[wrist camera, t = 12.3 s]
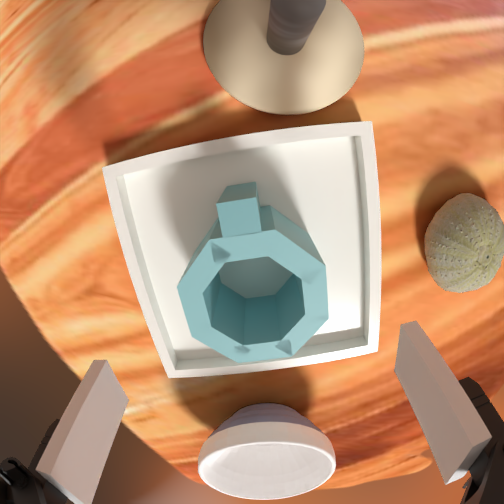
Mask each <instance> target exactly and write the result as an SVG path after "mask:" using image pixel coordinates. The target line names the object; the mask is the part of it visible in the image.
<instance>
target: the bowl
mask: <svg viewBox="0 0 504 504" xmlns="http://www.w3.org/2000/svg"><path fill="white" fill-rule="evenodd" d="M335 467H336V461H335V453H334V450H333V447H332V444H331V442H330V440H329V439H328V437H326V436H325V435H324V433H323V432H322V431H321V430H320V429H319V428H317V427H316V426H315V425H314V424H313V423H312V422H311V421H310V420H308V419H307V418H305V417H304V416H302V415H300V414H299V413H298V412H297V411H295V410H294V409H292V408H290V407H288V406H285V405H281V404H276V403H260V404H254V405H250V406H247V407H244V408H242V409H240V410H238V411H237V412H236V413H234V414H233V415H232V417H230V418H229V419H227V420H226V421H224V422H223V423H222V424H221V425H220V426H219V427H218V428H217V429H216V430H215V431H214V432H213V433H212V434H211V435H210V436H209V437H208V439H207V440H206V441H205V442H204V443H203V445H202V448H201V450H200V454H199V457H198V473H199V475H200V477H201V478H202V480H203V481H204V482H205V483H206V484H208V485H209V486H211V487H212V488H214V489H216V490H218V491H220V492H222V493H225V494H228V495H231V496H235V497H240V498H247V499H261V500H267V499H280V498H287V497H291V496H296V495H299V494H302V493H305V492H308V491H310V490H313V489H315V488H317V487H318V486H320V485H322V484H323V483H324V482H326V481H327V480H328V479H329V478H330V477H331V475H332V474H333V473H334V470H335Z"/></svg>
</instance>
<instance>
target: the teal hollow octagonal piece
mask: <svg viewBox="0 0 504 504" xmlns="http://www.w3.org/2000/svg"><path fill="white" fill-rule="evenodd" d="M216 206H217V211H218V218H217V220H216V221H215V223H214V224H213V226H212V227H211V228H210V230H209V231H208V233H207V234H206V236H205V237H204V238H203V240H202V241H201V243H200V244H199V246H198V247H197V249H196V250H195V252H194V254H193V256H192V258H191V260H190V262H189V263H188V265H187V267H186V269H185V271H184V273H183V275H182V277H181V279H180V281H179V283H178V285H177V290H178V293H179V297H180V300H181V304H182V307H183V310H184V314H185V317H186V320H187V324H188V327H189V330H190V333H191V336H192V337H193V338H195V339H196V340H198V341H200V342H201V343H203V344H205V345H207V346H208V347H210V348H212V349H214V350H215V351H217V352H219V353H221V354H223V355H224V356H226V357H228V358H230V359H232V360H233V361H235V362H237V363H243V362H253V361H261V360H269V359H277V358H284V357H291V356H293V355H294V354H295V353H296V352H297V351H298V350H299V349H300V348H301V347H302V346H303V345H304V344H305V343H306V342H307V341H308V340H309V339H310V338H311V337H312V336H313V335H314V334H315V333H316V332H317V331H318V330H319V329H320V328H321V327H322V326H323V325H324V323H325V322H326V321H327V320H328V319H329V311H328V293H327V277H326V265H325V264H324V262H323V260H322V258H321V256H320V254H319V252H318V250H317V248H316V247H315V245H314V243H313V241H312V239H311V237H310V235H309V234H308V233H307V232H306V231H305V230H303V229H302V228H300V227H299V226H298V225H296V224H295V223H294V222H292V221H291V220H290V219H288V218H287V217H286V216H284V215H283V214H281V213H280V212H279V211H277V210H276V209H275V208H273V207H272V206H270V205H269V206H262V207H260V204H259V197H258V191H257V185H256V182H250V183H244V184H237V185H231V186H227V187H226V188H225V190H224V191H223V193H222V195H221V196H220V198H219V200H218V201H217V203H216ZM266 256H269V257H270V258H271V259H273V260H274V261H276V262H277V263H279V264H280V265H282V266H283V267H285V268H286V269H287V270H289V271H290V272H292V273H293V274H292V275H291V276H290V278H289V279H288V280H287V281H286V282H285V284H284V285H283V286H282V287H281V288H280V290H279V291H278V292H277V293H276V294H275V295H268V296H261V297H253V298H244V297H243V296H241V295H240V294H238V293H236V292H235V291H233V290H232V289H230V288H229V287H227V286H225V285H224V284H222V283H221V280H220V275H219V270H220V269H221V267H222V266H223V265H224V263H225V262H232V261H239V260H246V259H253V258H259V257H266Z"/></svg>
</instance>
